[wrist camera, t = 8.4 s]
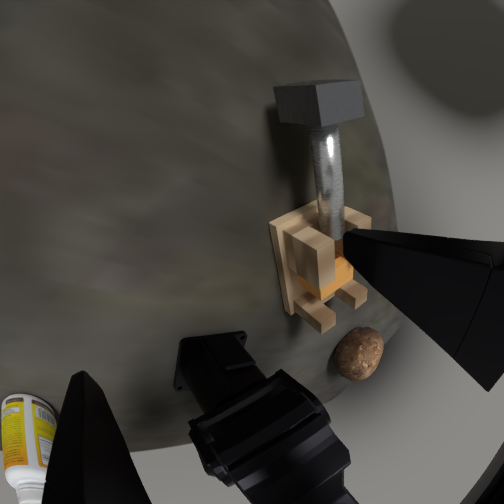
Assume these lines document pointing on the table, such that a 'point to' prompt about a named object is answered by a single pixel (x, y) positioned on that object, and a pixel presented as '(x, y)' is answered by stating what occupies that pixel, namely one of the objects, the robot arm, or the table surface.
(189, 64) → the table surface
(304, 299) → the bearing block
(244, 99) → the table surface
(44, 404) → the supplement bottle
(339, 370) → the mushroom
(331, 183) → the shaft
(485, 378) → the robot arm
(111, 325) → the table surface
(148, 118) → the table surface
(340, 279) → the block
